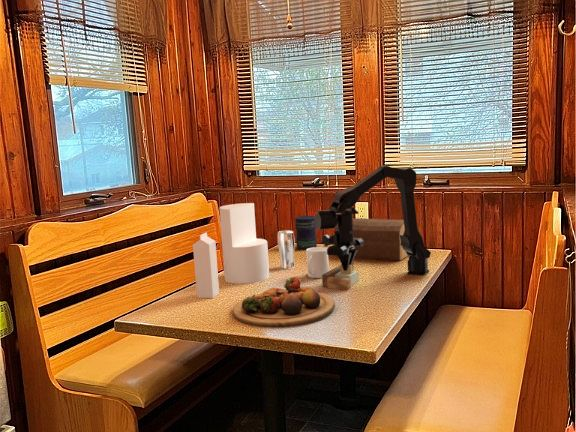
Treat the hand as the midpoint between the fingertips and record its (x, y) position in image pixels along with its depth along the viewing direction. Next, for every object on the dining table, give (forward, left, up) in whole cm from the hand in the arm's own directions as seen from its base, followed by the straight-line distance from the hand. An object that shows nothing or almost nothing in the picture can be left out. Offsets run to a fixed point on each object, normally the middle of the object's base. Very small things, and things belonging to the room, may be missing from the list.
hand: (346, 269), depth 203 cm
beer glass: (+33, -13, -5) cm, 35 cm away
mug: (+15, -4, -5) cm, 16 cm away
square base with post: (0, 0, -5) cm, 5 cm away
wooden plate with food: (+5, +35, -6) cm, 36 cm away
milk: (+39, +31, -5) cm, 50 cm away
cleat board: (+1, -3, -5) cm, 6 cm away
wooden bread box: (+8, -45, -5) cm, 46 cm away
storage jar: (+44, -49, -5) cm, 66 cm away
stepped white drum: (+40, +6, -5) cm, 41 cm away
